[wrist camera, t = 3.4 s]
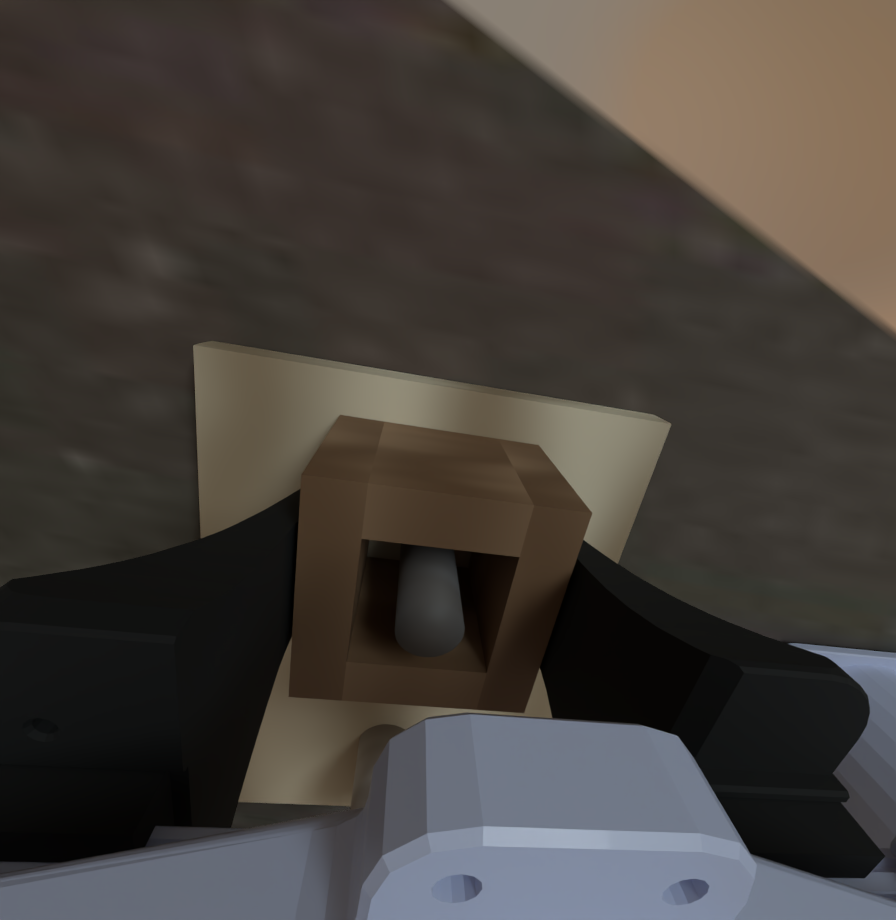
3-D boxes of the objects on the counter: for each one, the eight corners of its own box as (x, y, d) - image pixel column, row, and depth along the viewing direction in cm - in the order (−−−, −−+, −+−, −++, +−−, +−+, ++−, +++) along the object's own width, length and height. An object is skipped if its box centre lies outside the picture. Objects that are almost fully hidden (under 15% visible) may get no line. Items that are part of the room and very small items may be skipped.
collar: (538, 444, 12) (592, 513, 8) (496, 601, 14) (524, 713, 10) (339, 415, 11) (300, 474, 8) (325, 584, 13) (288, 696, 10)
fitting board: (653, 414, 13) (856, 519, 7) (517, 787, 19) (561, 1011, 13) (211, 340, 11) (-21, 394, 5) (221, 774, 18) (120, 1021, 12)
